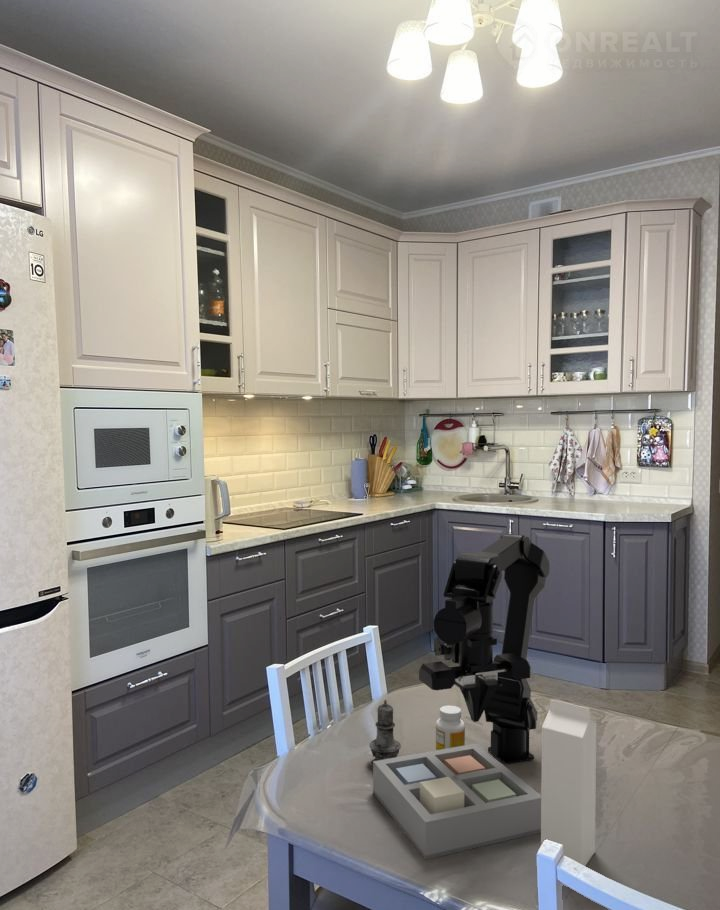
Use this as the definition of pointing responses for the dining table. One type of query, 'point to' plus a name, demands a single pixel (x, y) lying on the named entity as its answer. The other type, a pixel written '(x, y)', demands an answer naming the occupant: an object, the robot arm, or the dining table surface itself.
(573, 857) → the milk
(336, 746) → the dining table surface
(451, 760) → the key terracotta
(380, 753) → the grey chess piece
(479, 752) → the keypad
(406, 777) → the key slate
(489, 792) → the key sage
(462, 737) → the supplement bottle
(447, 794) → the key cream
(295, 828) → the dining table surface
